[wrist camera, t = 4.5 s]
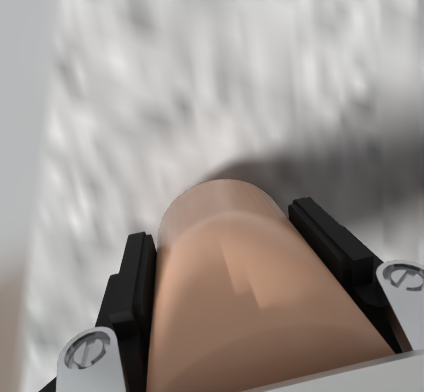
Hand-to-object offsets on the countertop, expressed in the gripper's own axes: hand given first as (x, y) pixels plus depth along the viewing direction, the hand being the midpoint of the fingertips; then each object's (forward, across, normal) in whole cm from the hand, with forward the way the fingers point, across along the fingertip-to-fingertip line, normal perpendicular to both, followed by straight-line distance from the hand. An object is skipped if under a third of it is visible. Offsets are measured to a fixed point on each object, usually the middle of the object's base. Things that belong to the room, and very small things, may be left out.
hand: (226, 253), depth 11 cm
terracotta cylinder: (+1, 0, 0) cm, 1 cm away
